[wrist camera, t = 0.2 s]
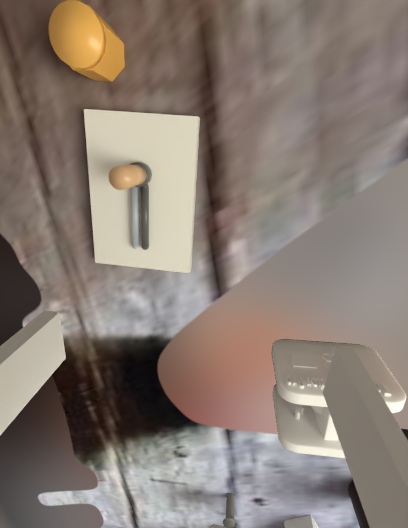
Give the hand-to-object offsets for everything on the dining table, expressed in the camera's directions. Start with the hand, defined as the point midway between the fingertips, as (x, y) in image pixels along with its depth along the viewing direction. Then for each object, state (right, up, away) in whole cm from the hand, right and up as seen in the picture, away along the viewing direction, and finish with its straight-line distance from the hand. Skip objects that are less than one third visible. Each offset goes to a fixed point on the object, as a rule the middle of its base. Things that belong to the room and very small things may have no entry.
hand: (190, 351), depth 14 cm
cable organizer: (+19, -12, +32) cm, 39 cm away
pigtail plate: (-7, +14, +25) cm, 30 cm away
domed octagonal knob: (-11, +29, +20) cm, 37 cm away
